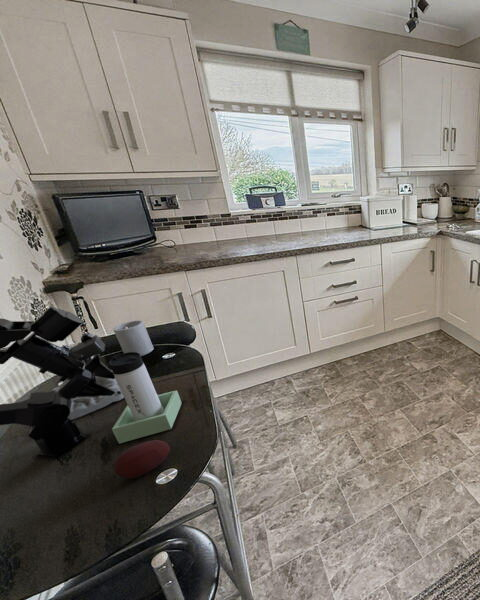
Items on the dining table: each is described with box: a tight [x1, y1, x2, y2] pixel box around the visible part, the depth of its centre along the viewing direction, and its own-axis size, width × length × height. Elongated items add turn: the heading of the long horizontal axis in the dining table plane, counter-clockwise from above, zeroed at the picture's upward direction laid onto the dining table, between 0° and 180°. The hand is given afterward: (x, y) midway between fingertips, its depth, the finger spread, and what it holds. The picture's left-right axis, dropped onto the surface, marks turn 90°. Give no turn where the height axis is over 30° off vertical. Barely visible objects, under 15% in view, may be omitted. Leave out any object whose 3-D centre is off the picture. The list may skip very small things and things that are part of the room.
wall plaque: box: [51, 369, 125, 421], centre depth 103 cm, size 24×19×4 cm
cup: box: [112, 319, 155, 357], centre depth 128 cm, size 9×9×12 cm
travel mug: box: [108, 352, 164, 421], centre depth 85 cm, size 6×7×20 cm
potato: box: [113, 439, 171, 480], centre depth 73 cm, size 7×10×6 cm
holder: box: [111, 390, 183, 444], centre depth 88 cm, size 12×12×5 cm
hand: (114, 385), depth 87 cm, fingers open, 9 cm apart
